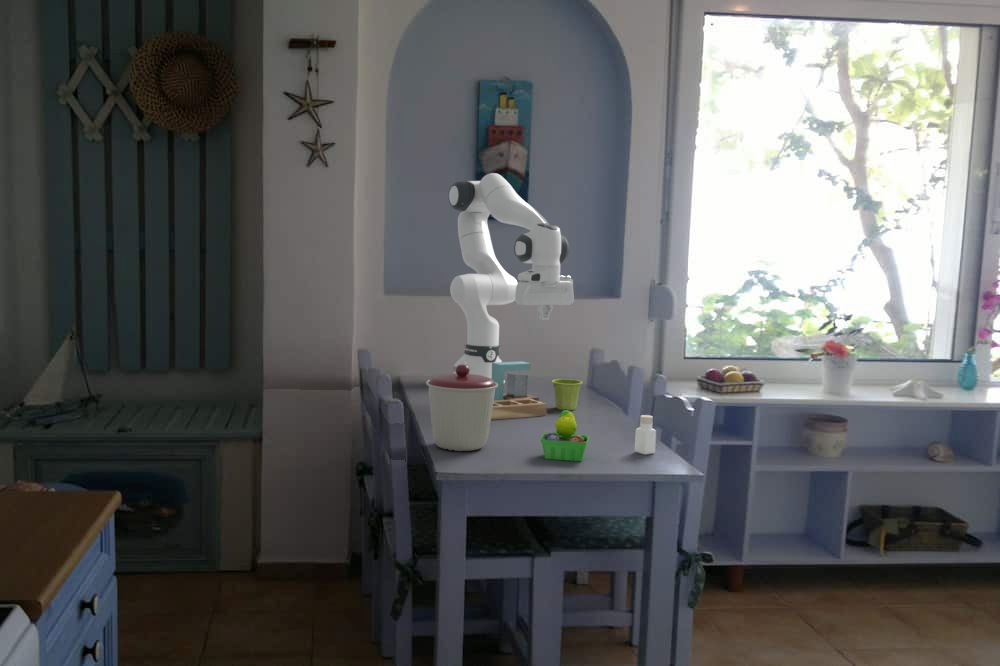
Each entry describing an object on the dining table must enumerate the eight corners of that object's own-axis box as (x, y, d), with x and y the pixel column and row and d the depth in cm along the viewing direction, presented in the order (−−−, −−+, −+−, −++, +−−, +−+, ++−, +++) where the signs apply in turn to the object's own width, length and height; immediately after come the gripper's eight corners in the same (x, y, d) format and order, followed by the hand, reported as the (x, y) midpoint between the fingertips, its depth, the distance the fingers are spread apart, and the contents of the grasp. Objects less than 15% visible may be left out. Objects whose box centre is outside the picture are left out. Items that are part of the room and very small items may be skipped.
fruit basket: (539, 459, 238) (541, 413, 237) (543, 451, 247) (545, 407, 246) (585, 463, 236) (588, 417, 235) (589, 455, 245) (591, 410, 244)
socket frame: (521, 401, 315) (521, 392, 315) (538, 407, 306) (538, 397, 306) (447, 406, 301) (447, 397, 301) (462, 412, 293) (462, 402, 292)
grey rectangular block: (506, 404, 309) (507, 373, 308) (518, 403, 311) (520, 372, 310) (514, 407, 305) (515, 375, 304) (526, 406, 307) (527, 374, 306)
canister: (510, 449, 248) (513, 366, 245) (456, 459, 235) (459, 372, 233) (463, 436, 261) (466, 357, 258) (409, 444, 248) (411, 362, 246)
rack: (465, 414, 291) (466, 402, 291) (528, 409, 302) (528, 398, 302) (482, 420, 282) (482, 408, 282) (546, 415, 294) (546, 403, 293)
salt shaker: (644, 450, 252) (646, 414, 251) (655, 453, 249) (658, 416, 248) (633, 452, 250) (635, 415, 249) (644, 455, 247) (646, 418, 246)
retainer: (518, 398, 312) (520, 360, 311) (530, 402, 307) (532, 364, 305) (482, 401, 306) (484, 362, 304) (494, 405, 300) (495, 365, 298)
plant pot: (565, 412, 299) (566, 384, 298) (544, 407, 306) (545, 380, 305) (587, 409, 305) (588, 382, 304) (566, 404, 312) (567, 378, 311)
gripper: (567, 275, 316) (565, 317, 318) (513, 274, 306) (511, 318, 307) (578, 276, 311) (576, 319, 312) (524, 275, 300) (522, 320, 302)
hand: (544, 319), depth 310 cm, fingers closed
